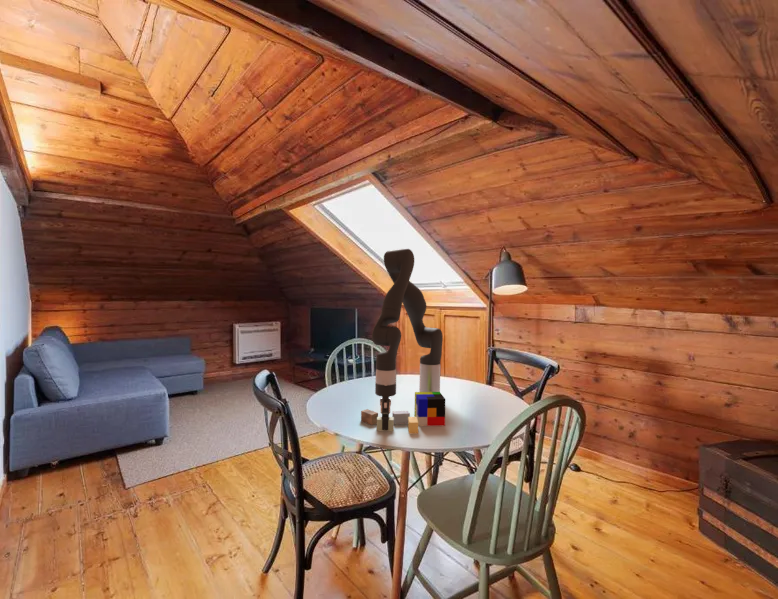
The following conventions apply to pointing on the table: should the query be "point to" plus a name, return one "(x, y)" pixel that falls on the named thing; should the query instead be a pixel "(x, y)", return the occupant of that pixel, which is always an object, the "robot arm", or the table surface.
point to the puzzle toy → (429, 408)
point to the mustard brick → (412, 425)
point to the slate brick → (401, 417)
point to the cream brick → (390, 424)
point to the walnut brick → (369, 417)
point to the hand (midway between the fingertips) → (385, 425)
